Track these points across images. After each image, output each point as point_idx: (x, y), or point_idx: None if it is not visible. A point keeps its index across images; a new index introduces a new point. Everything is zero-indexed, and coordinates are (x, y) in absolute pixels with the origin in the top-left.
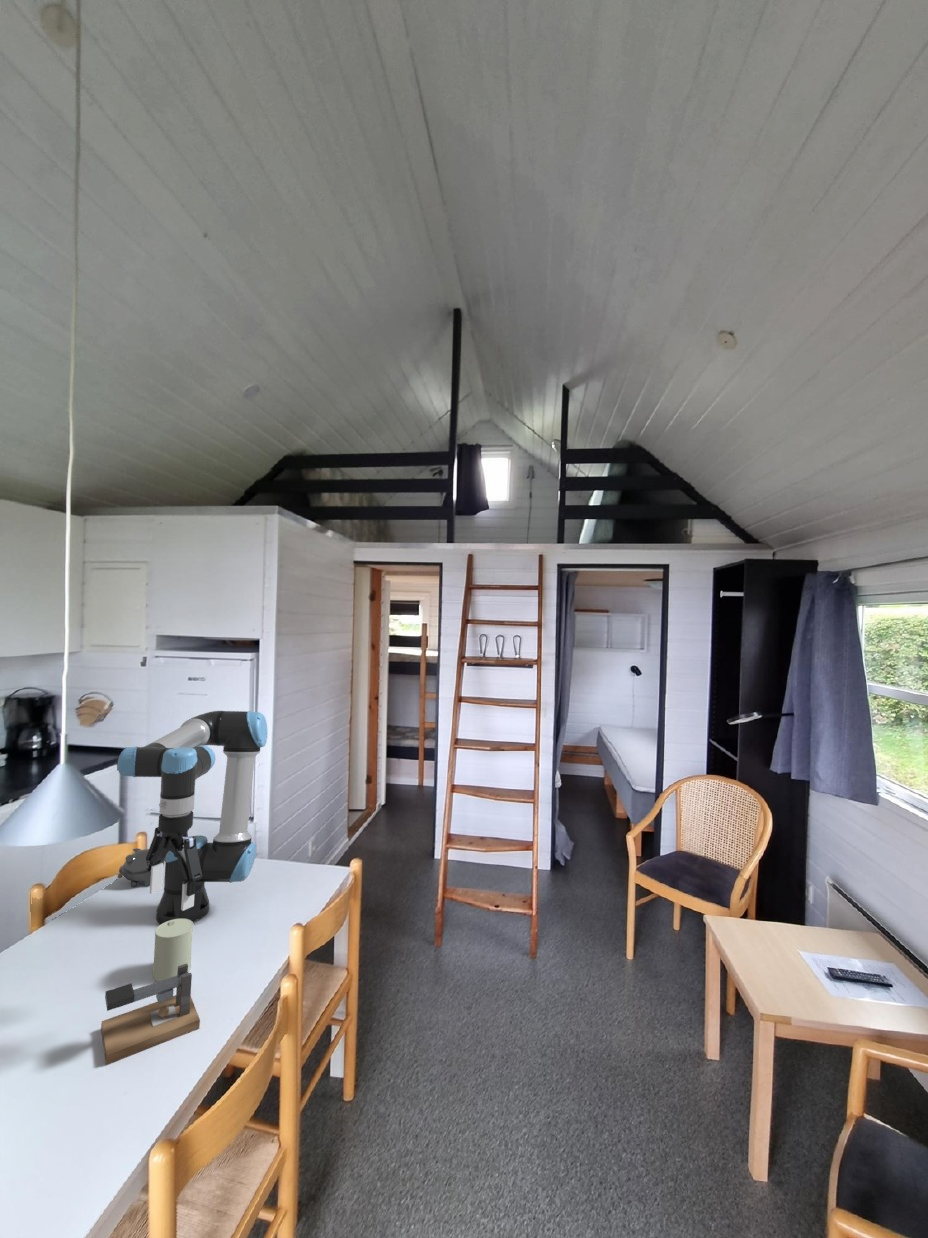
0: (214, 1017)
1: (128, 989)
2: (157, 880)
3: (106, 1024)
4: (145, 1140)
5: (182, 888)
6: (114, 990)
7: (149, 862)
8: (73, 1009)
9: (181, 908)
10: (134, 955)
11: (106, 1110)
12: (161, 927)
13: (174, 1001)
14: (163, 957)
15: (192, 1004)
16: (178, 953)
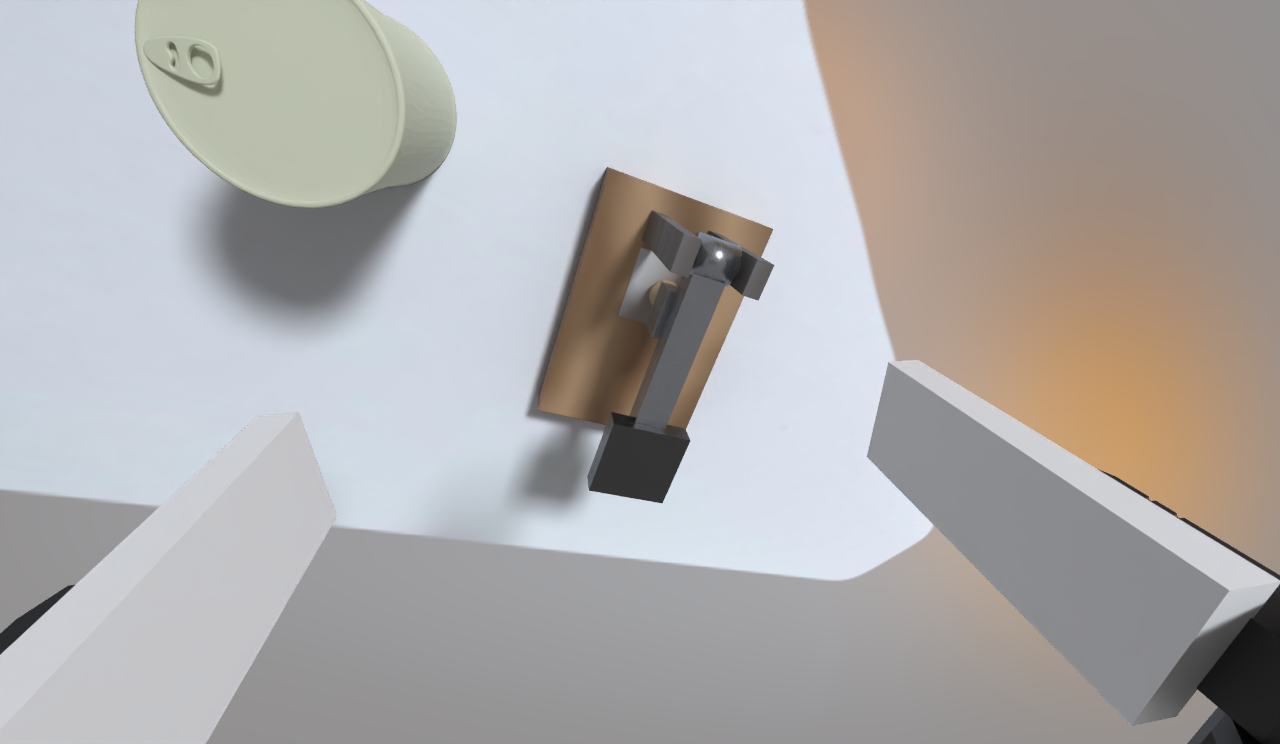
0: (762, 164)
1: (641, 442)
2: (238, 573)
3: (563, 406)
4: None
5: (1042, 632)
6: (608, 472)
7: None
8: (376, 415)
9: (881, 466)
10: (111, 146)
11: (789, 462)
12: (212, 139)
13: (625, 234)
14: (398, 180)
15: (691, 204)
16: (427, 120)
